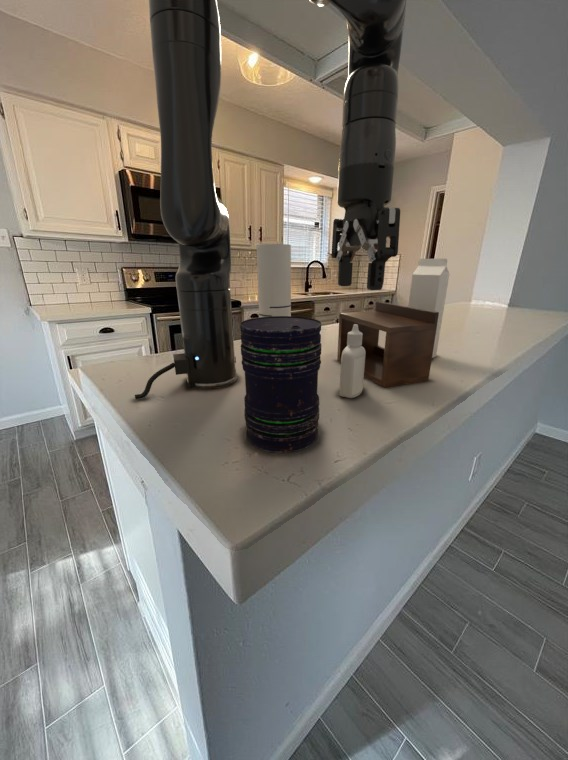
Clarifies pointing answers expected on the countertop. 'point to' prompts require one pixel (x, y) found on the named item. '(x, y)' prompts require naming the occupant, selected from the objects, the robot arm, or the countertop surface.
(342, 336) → the spice rack
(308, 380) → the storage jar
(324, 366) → the countertop surface
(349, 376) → the eye dropper bottle
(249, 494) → the countertop surface
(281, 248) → the cylindrical container
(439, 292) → the milk
